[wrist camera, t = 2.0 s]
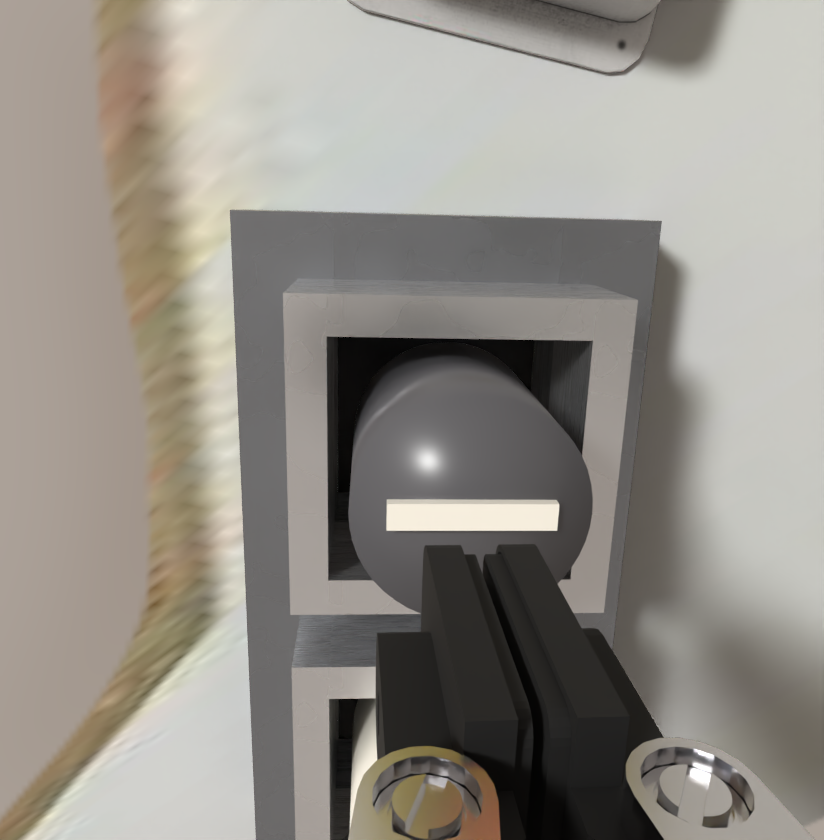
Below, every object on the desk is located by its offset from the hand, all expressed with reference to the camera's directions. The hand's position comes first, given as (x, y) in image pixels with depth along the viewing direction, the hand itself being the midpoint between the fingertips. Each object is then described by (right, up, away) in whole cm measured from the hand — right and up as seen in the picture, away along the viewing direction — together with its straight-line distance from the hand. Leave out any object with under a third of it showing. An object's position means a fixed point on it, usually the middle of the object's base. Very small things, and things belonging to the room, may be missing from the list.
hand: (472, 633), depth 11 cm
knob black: (0, +3, +10) cm, 11 cm away
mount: (0, -1, +15) cm, 15 cm away
